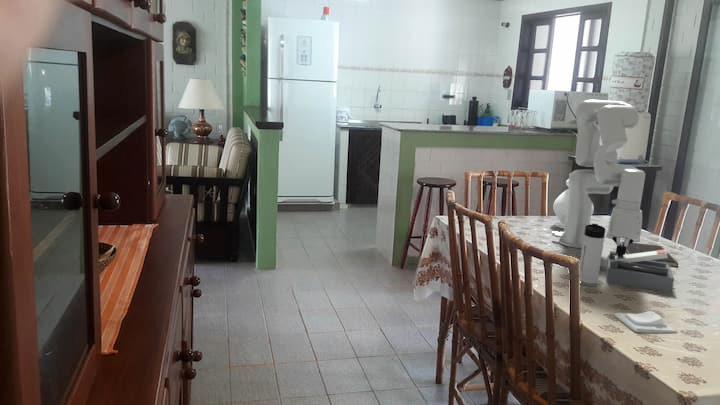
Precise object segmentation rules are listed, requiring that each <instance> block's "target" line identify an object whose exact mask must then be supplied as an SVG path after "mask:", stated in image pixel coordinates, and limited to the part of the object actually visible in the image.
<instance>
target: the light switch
mask: <svg viewBox="0 0 720 405" xmlns="http://www.w3.org/2000/svg"><path fill="white" fill-rule="evenodd" d="M613 315H614V317H615V318H616V319H618V321H620V322H621V323H622V322H623V323H622V324H623V325H625V326H626V327H628V328H629V329H630V330H632V332H634V333H641V332H642V334H643V333H645V334H646V333H647V334H653V333H654V334H656V333H657V334H659V333H660V334H665V333H666V334H677V333H679V332H678V331H677V330H675V329H674V328H673V327H671V326H670V325H669V324H667V323H666V322H665V321H663V318H662V316H661V315H659V314H658V313H656V312H654V311H652V310H649V311H644V312H640V313H631V312H630V313H627V312H626V313H625V312H616V313H615V314H613Z"/></svg>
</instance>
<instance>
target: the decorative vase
mask: <svg viewBox="0 0 720 405" xmlns="http://www.w3.org/2000/svg"><path fill="white" fill-rule="evenodd" d="M571 173H572V172H570V173H568V174H569V175H568V177H569V176H570V174H571ZM565 185H566V186H567V187H568V188H567V189H565V190H564V191H563V192H561V194H559V195H558V196H557V198H556V199H555V200H554V202H553V206H552V209H553V212H554V214H555V216H556V217H557V219H558V220H559V222H557V223H556V227H558V228H560V229H563V230H564V229H565V222H566V215H567V207H568V199H569V178H568V179H567V180H566V181H565ZM594 210H595V209H594V203H592V213H591V217H592V216H593V215H594Z"/></svg>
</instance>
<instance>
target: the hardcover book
mask: <svg viewBox="0 0 720 405" xmlns="http://www.w3.org/2000/svg"><path fill="white" fill-rule="evenodd" d="M623 243H624V241H621V245H623ZM663 249H665V248H664V247H663V246H662V245H657V244H648V243H646V244H645V243H640V242H633V243H631V244H629V245H628V246H627V247H626V253H627V254H635V253H643V252H650V251H656V250H663ZM666 252H667V256H668V258H663V259H655V260H657V261H663V262H664V263H666V264H667V265H669V266H670V267H677V268H678V266H679V263H678V262H677V260H676V259H675V258H673V256H671V253H669V252H668V251H667V250H666Z"/></svg>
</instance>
